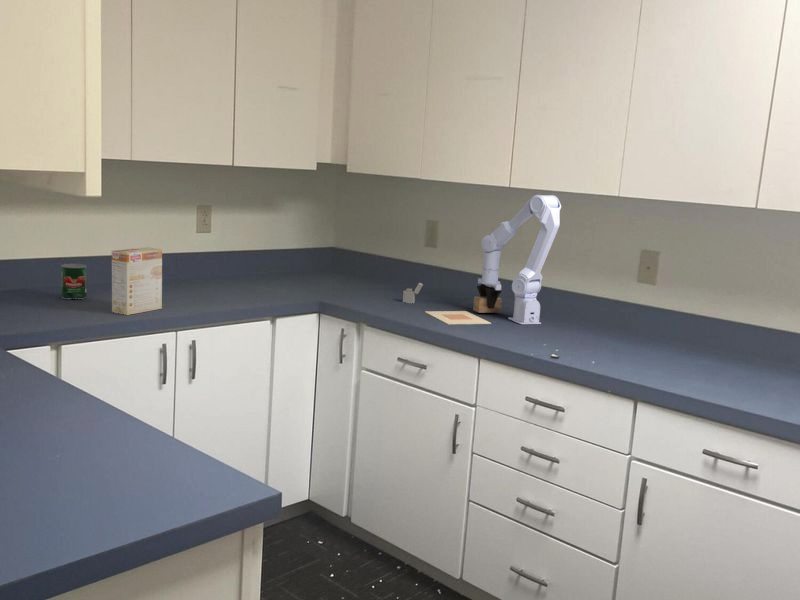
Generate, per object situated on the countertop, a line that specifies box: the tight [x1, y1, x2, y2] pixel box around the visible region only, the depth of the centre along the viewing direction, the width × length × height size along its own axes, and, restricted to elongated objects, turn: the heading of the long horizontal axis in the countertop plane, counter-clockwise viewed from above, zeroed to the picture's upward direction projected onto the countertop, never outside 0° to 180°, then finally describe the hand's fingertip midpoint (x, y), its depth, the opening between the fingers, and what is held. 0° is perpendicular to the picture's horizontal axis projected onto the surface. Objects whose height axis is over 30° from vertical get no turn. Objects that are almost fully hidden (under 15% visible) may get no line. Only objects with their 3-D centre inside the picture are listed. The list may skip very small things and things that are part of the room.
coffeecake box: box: [111, 246, 163, 316], centre depth 253 cm, size 15×7×20 cm, turn 152°
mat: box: [424, 310, 492, 325], centre depth 276 cm, size 20×16×1 cm
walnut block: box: [472, 295, 503, 314], centre depth 287 cm, size 9×4×5 cm, turn 111°
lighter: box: [402, 282, 424, 304], centre depth 298 cm, size 7×2×8 cm, turn 68°
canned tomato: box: [60, 263, 88, 299], centre depth 267 cm, size 8×8×11 cm
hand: (487, 306), depth 287 cm, fingers closed on walnut block, 4 cm apart
